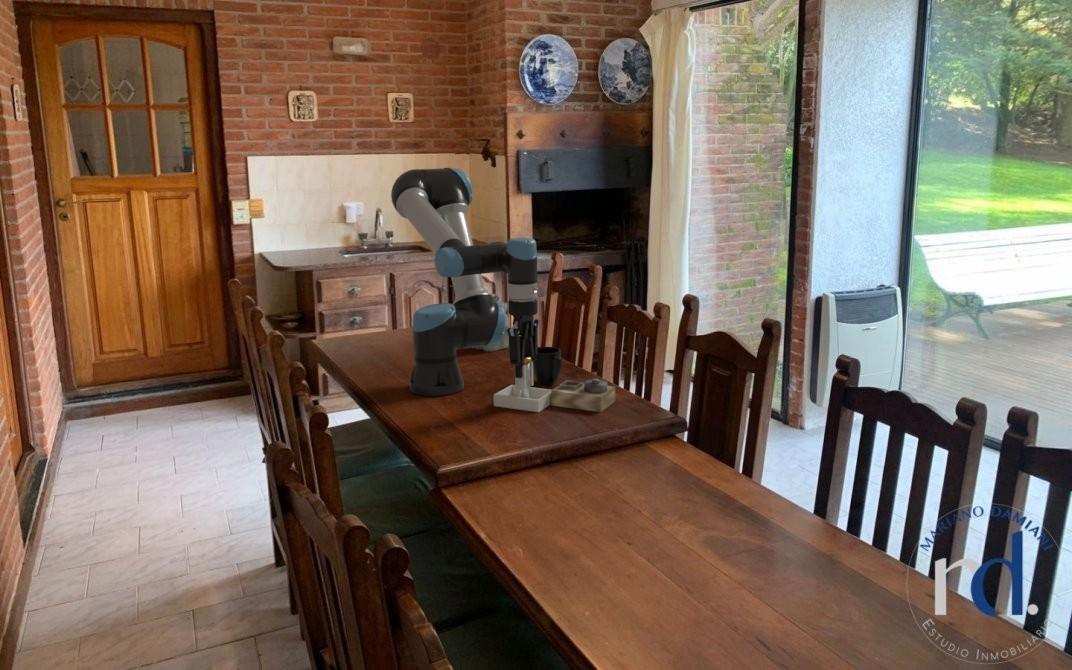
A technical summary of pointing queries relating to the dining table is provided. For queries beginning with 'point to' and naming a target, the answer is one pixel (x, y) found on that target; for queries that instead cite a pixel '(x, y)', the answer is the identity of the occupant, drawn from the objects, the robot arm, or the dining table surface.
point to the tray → (523, 399)
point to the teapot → (504, 340)
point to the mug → (547, 365)
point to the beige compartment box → (583, 395)
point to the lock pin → (526, 392)
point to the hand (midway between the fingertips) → (524, 386)
